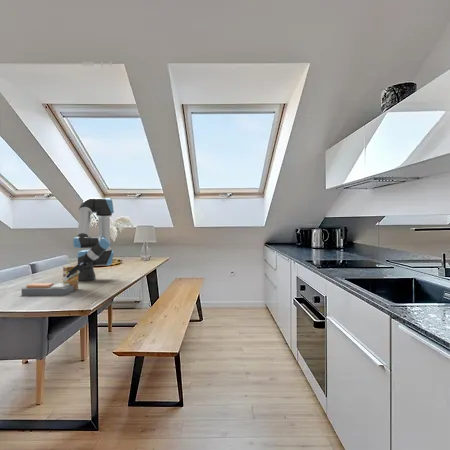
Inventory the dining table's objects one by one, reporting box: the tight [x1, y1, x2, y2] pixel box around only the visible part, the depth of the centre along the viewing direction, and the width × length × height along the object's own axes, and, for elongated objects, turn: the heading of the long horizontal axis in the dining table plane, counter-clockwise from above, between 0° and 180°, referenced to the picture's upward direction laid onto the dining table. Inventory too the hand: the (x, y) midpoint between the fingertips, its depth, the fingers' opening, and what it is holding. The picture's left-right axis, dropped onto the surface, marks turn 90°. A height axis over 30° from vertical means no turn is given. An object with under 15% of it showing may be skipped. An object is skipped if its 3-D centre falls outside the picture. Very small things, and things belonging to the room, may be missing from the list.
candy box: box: [62, 265, 79, 290], centre depth 235 cm, size 9×4×15 cm, turn 146°
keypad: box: [21, 282, 74, 296], centre depth 222 cm, size 14×26×5 cm, turn 93°
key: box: [26, 282, 55, 288], centre depth 222 cm, size 8×13×2 cm, turn 93°
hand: (67, 278), depth 235 cm, fingers open, 13 cm apart
